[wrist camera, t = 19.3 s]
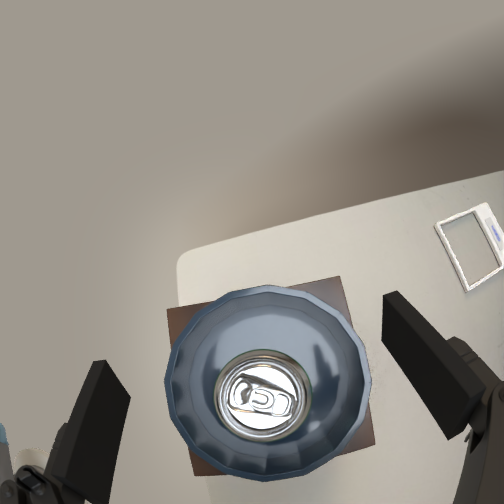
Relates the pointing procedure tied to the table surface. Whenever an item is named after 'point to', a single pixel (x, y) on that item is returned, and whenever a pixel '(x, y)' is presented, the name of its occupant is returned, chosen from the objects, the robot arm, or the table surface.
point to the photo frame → (498, 241)
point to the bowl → (283, 340)
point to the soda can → (262, 395)
